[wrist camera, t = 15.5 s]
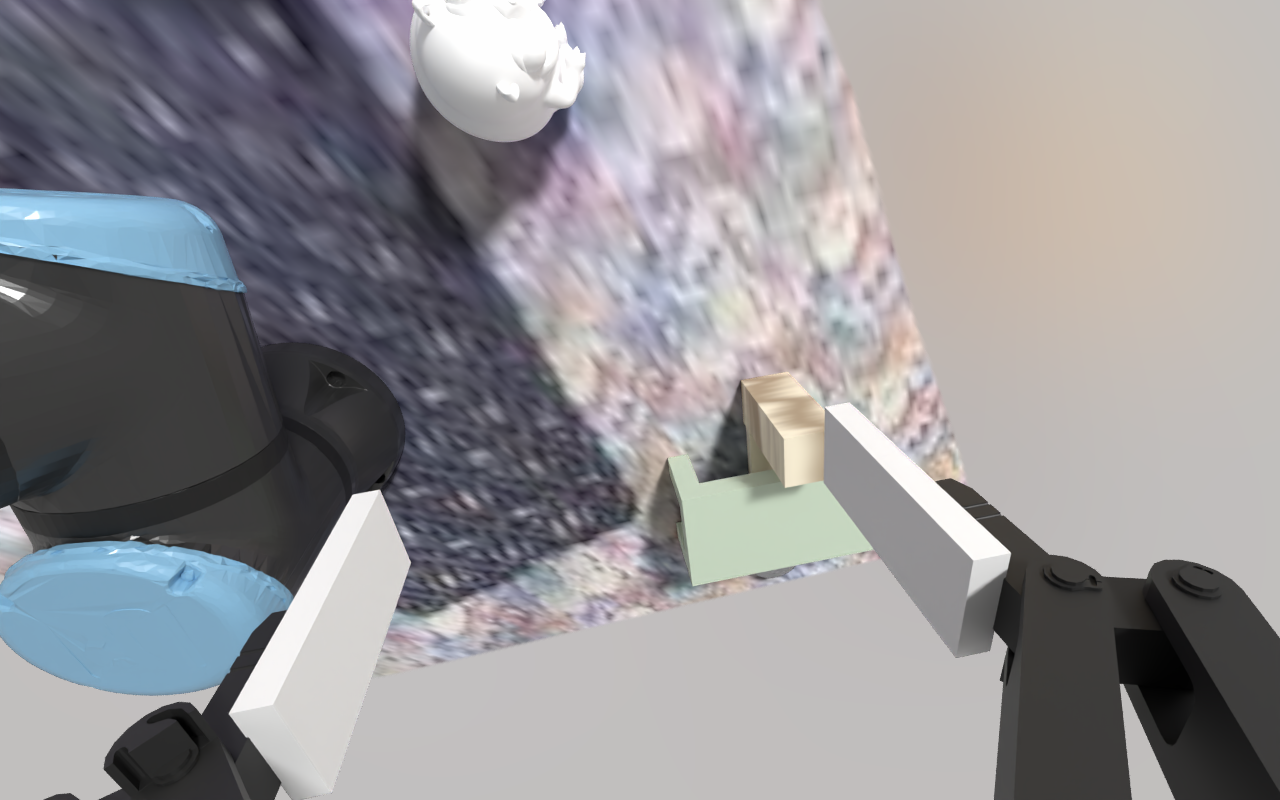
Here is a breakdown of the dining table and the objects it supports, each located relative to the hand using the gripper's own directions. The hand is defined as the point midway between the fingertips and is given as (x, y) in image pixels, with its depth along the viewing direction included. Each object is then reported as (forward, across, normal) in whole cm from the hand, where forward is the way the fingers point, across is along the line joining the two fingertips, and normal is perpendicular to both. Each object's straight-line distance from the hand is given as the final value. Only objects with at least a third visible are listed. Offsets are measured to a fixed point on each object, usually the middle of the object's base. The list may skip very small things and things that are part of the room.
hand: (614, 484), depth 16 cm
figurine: (+32, -3, +14) cm, 35 cm away
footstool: (+32, +14, -25) cm, 43 cm away
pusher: (+32, +15, -22) cm, 41 cm away
